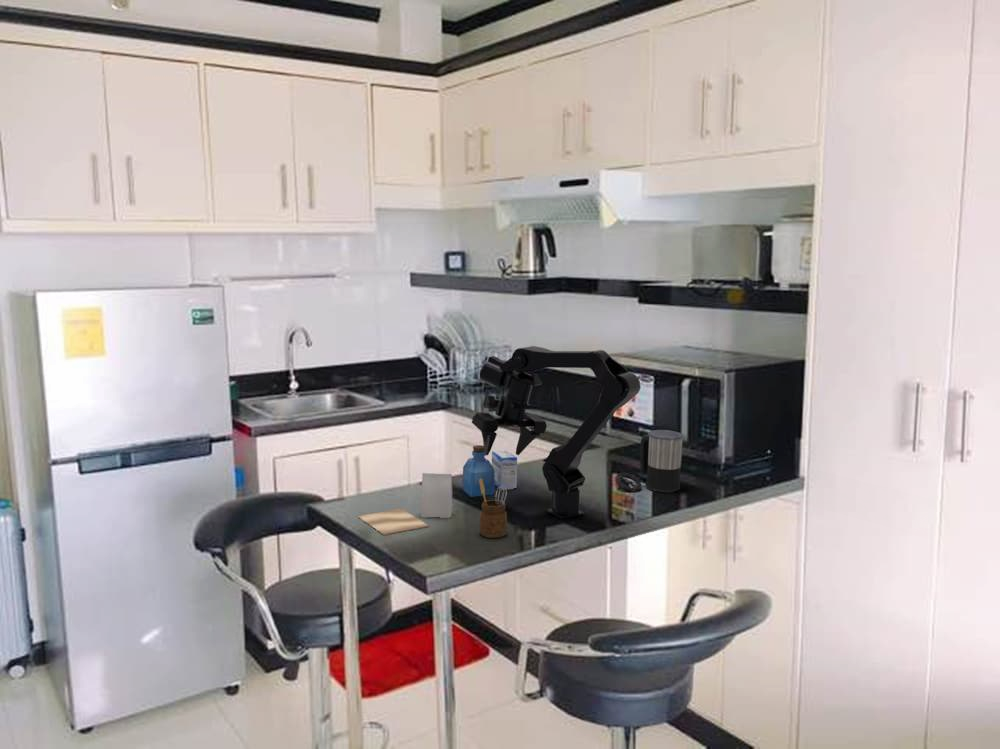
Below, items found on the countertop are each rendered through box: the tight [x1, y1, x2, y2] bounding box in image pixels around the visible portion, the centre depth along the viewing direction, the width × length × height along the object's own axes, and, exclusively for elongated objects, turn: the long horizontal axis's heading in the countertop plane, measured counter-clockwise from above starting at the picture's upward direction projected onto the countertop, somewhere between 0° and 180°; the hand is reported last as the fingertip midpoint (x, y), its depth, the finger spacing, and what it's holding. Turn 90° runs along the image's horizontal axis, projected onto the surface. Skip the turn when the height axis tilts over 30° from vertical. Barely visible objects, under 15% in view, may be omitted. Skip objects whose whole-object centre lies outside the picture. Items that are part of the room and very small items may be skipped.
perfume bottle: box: [462, 444, 495, 498], centre depth 209 cm, size 6×6×12 cm
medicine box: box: [491, 449, 518, 491], centre depth 216 cm, size 8×4×9 cm, turn 21°
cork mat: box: [357, 508, 430, 536], centre depth 186 cm, size 14×11×1 cm
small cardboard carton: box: [420, 472, 453, 519], centre depth 190 cm, size 4×7×10 cm, turn 87°
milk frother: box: [615, 429, 685, 493], centre depth 215 cm, size 14×16×15 cm
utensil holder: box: [479, 478, 508, 539], centre depth 178 cm, size 6×6×12 cm
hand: (501, 454), depth 202 cm, fingers open, 9 cm apart
